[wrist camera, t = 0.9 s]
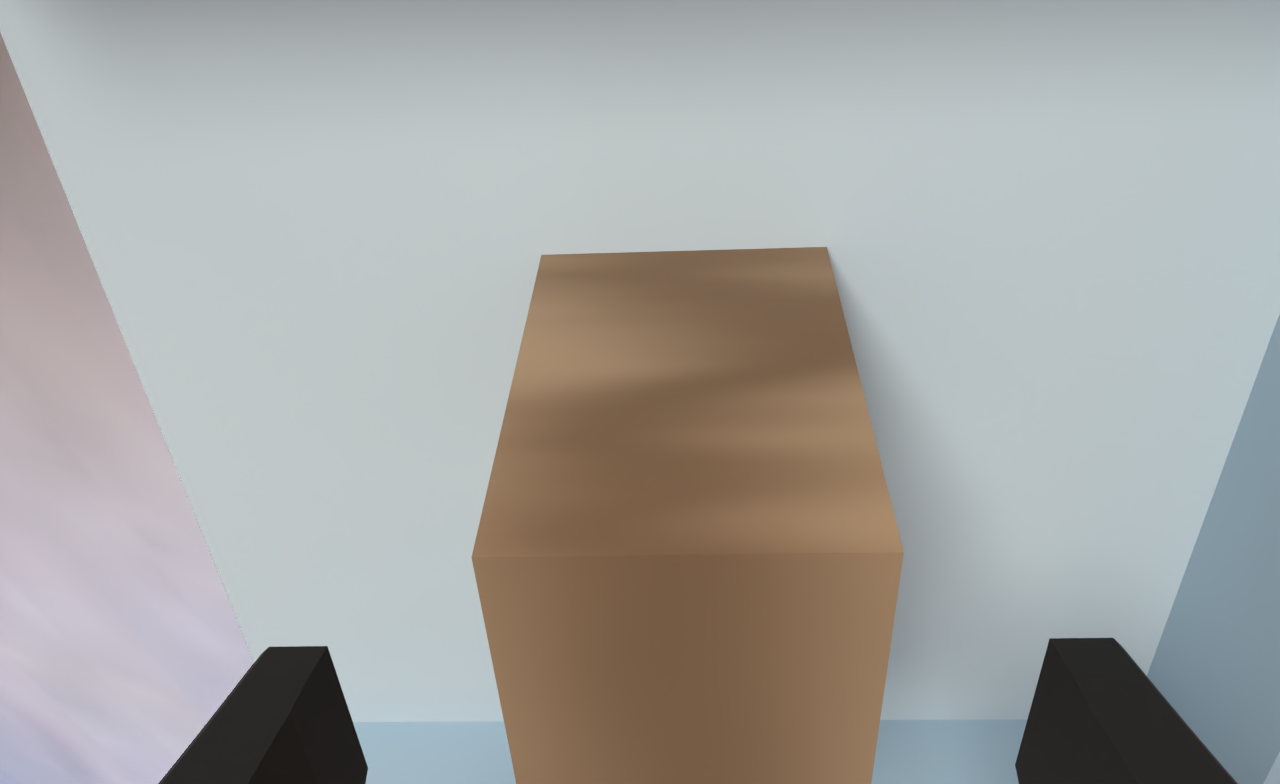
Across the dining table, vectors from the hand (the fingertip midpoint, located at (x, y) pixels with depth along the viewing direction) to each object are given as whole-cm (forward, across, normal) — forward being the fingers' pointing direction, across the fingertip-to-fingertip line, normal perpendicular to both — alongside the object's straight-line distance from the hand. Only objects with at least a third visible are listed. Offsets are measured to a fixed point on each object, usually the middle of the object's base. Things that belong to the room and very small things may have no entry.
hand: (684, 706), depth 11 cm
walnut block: (+6, 0, 0) cm, 6 cm away
